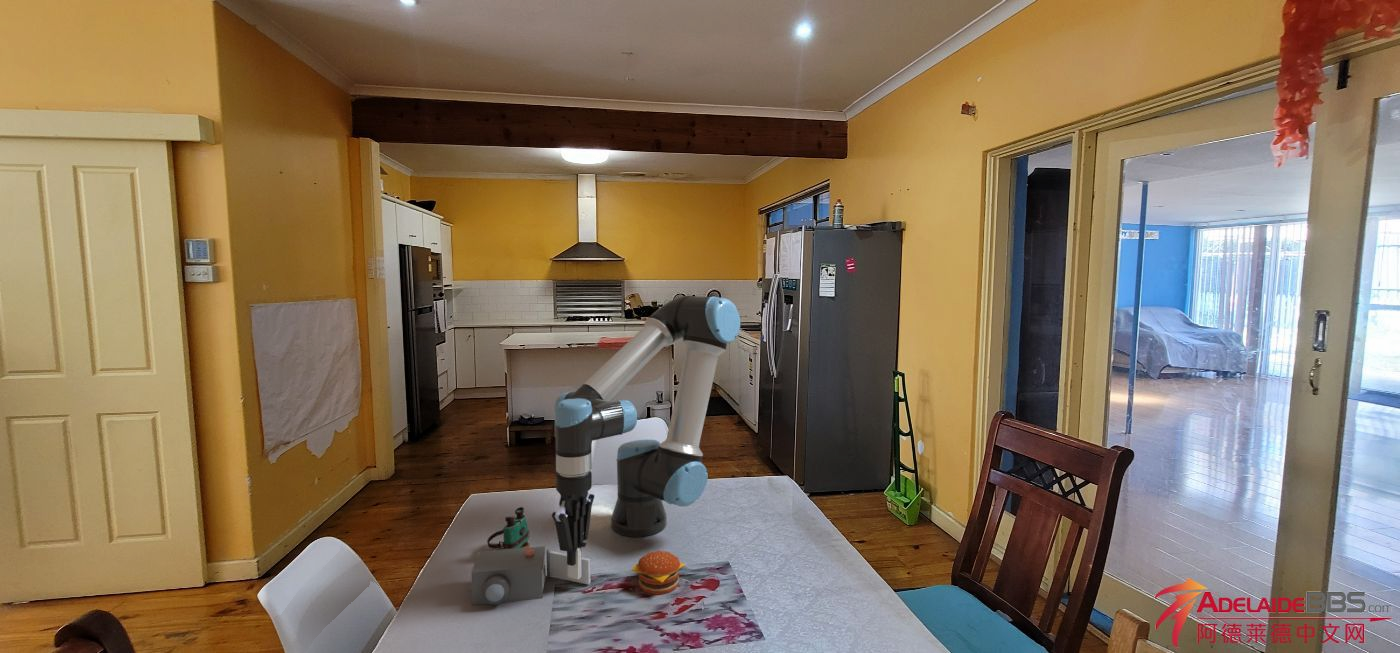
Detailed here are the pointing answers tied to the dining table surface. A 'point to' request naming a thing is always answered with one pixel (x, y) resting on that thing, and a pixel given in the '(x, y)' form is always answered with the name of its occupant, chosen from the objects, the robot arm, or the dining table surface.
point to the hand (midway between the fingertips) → (574, 576)
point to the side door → (566, 567)
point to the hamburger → (658, 572)
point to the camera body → (508, 575)
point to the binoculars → (513, 532)
